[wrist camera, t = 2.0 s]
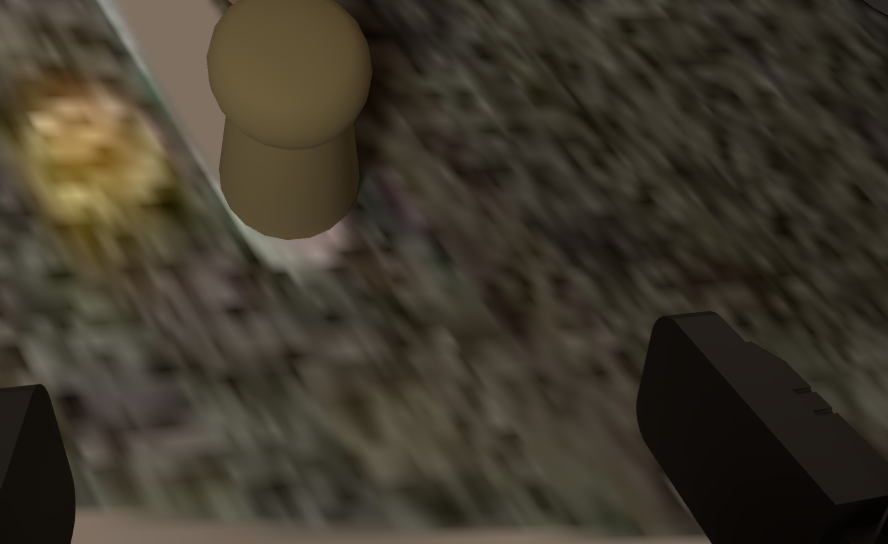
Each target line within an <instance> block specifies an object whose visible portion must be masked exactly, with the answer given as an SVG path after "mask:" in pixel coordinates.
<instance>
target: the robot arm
mask: <svg viewBox="0 0 888 544" xmlns="http://www.w3.org/2000/svg"><path fill="white" fill-rule="evenodd" d="M864 1H865V2H866V3H868V4H869V5H870V6H872V7H873V8H875V9H877V10H878V11H880V12H882V13H884V14H886V15H888V0H864ZM636 413H637V421H638V425H639V429H640V432H641V435H642V437H643V439H644V442H645V443H646V445H647V446H648V448H649V450H650V451H651V453H652V454H653V456H654V457H655V459H656V460H657V462H658V463H659V465H660V466H661V468H662V469H663V471H664V472H665V474H666V475H667V477H668V478H669V480H670V481H671V483H672V484H673V486H674V487H675V489H676V490H677V492H678V493H679V495H680V496H681V498H682V499H683V501H684V502H685V504H686V505H687V507H688V508H689V510H690V511H691V513H692V515H693V516H694V518H695V519H696V521H697V522H698V524H699V525H700V527H701V528H702V530H703V531H704V533H705V534H706V536H707V537H708V539H709V540H710V542H711V543H712V544H888V463H887V462H886V461H885V460H884V459H883V458H882V457H881V456H880V455H879V454H878V453H877V452H876V451H875V450H874V449H873V448H872V447H871V446H870V445H869V444H868V443H867V442H866V441H865V440H864V439H863V438H862V437H861V436H860V435H859V434H858V433H857V432H856V431H855V430H854V429H853V428H852V427H851V426H850V425H849V424H848V423H847V422H846V421H845V420H844V419H843V418H842V417H841V416H840V415H839V414H838V413H835V414H833V412H832V407H831V406H830V405H829V404H828V403H827V402H826V401H825V400H824V399H823V398H822V397H821V396H820V395H819V394H818V393H817V392H812V391H811V386H810V385H809V384H808V383H807V382H806V381H804V380H803V379H802V378H801V377H800V376H799V375H798V374H797V373H796V372H795V371H794V370H793V369H792V368H791V367H790V366H789V365H788V364H787V363H786V362H785V361H783V360H782V359H780V358H778V357H776V356H775V355H773V354H771V353H770V352H768V351H766V350H764V349H763V348H761V347H759V346H758V345H756V344H754V343H752V342H745V341H744V340H743V339H742V338H741V337H740V336H739V335H738V334H737V333H736V332H735V331H734V330H733V329H732V328H731V327H730V326H729V325H728V324H727V323H726V322H725V320H724V319H723V318H722V317H720V316H719V315H718V314H717V313H715V312H711V311H707V312H698V313H689V314H680V315H671V316H663V317H660V318H659V319H658V320H657V321H656V322H655V324H654V326H653V329H652V333H651V337H650V342H649V347H648V351H647V356H646V360H645V365H644V369H643V374H642V378H641V383H640V388H639V392H638V397H637V404H636ZM74 523H75V489H74V482H73V477H72V473H71V469H70V466H69V462H68V459H67V455H66V452H65V449H64V445H63V442H62V438H61V435H60V431H59V428H58V424H57V421H56V417H55V414H54V410H53V407H52V403H51V400H50V397H49V394H48V392H47V390H46V388H45V387H44V386H43V385H41V384H36V385H27V386H18V387H9V388H0V544H71V539H72V534H73V529H74Z"/></svg>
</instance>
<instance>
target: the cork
mask: <svg viewBox="0 0 888 544" xmlns="http://www.w3.org/2000/svg"><path fill="white" fill-rule="evenodd" d="M207 65H208V74H209V82H210V86H211V90H212V92H213V94H214V96H215V98H216V100H217V102H218V104H219V106H220V108H221V110H222V112H223V113H224V114H225V115H226V119H225V127H224V135H223V143H222V150H221V159H220V166H219V173H220V183H221V190H222V192H223V194H224V197H225V199H226V201H227V203H228V205H229V207H230V209H231V210H232V211H233V212H234V213H235V214H236V215H237V216H238V217H239V218H240V219H241V220H242V221H243V223H244V224H245V225H247V226H249V227H251V228H253V229H254V230H256V231H258V232H260V233H262V234H264V235H266V236H271V237H276V238H281V239H286V240H291V239H301V238H310V237H312V236H315V235H317V234H320V233H322V232H324V231H327V230H329V229H331V228H332V227H333V226H334V225H335V224H336V223H338V222H339V221H340V220H341V219H342V218H343V217H344V216H346V214H347V212H348V211H349V209H350V207H351V206H352V204H353V202H354V200H355V199H356V195H357V190H358V185H359V180H360V175H359V166H358V157H357V148H356V139H355V130H354V122H355V120H356V118H357V117H358V115H359V113H360V112H361V110H362V108H363V107H364V105H365V103H366V101H367V97H368V93H369V88H370V83H371V78H372V73H373V71H372V65H371V58H370V51H369V47H368V43H367V40H366V39H365V37H364V35H363V33H362V31H361V29H360V27H359V25H358V23H357V21H356V20H355V19H354V18H353V17H352V16H351V15H350V14H349V13H348V12H347V11H346V10H345V9H344V8H343V7H342V6H341V5H340V4H339V3H337V2H335V1H334V0H239V1H237V2H236V3H234V4H233V5H232V6H230V7H229V8H228V9H227V10H226V12H225V13H224V14H223V16H222V17H221V19H220V20H219V21H218V23H217V24H216V26H215V28H214V32H213V35H212V38H211V42H210V46H209V50H208V53H207Z"/></svg>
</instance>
